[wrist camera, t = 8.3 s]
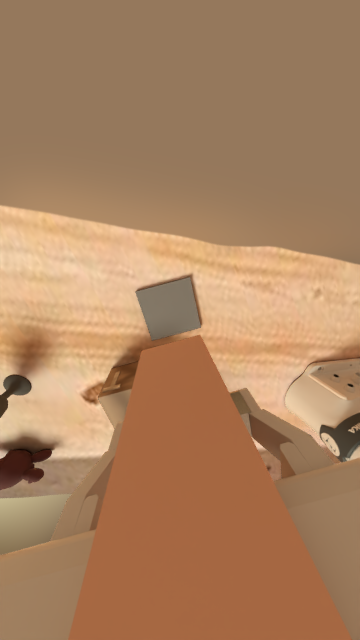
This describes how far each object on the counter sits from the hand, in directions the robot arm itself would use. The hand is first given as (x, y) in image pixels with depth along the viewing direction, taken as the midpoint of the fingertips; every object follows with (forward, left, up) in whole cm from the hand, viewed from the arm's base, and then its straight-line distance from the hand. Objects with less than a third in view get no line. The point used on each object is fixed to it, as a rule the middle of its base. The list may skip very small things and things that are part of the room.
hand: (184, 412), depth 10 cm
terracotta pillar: (0, 0, -5) cm, 5 cm away
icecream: (+44, +25, -23) cm, 55 cm away
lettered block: (+11, +13, -23) cm, 28 cm away
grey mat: (0, 0, -23) cm, 23 cm away
